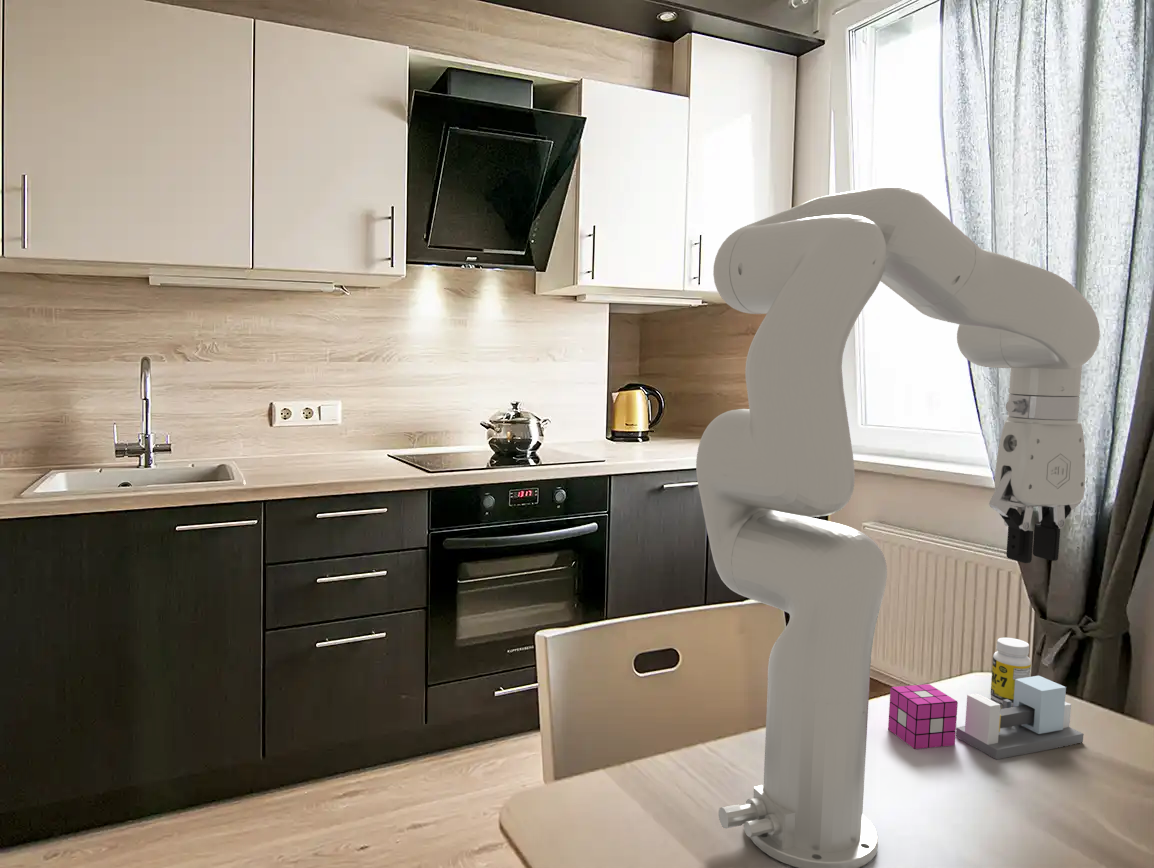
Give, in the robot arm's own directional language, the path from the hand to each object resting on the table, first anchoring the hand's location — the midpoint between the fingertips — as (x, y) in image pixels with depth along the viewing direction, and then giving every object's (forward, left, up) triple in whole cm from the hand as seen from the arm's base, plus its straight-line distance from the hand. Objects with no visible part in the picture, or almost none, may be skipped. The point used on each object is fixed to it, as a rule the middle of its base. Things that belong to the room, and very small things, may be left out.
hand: (1032, 557), depth 106 cm
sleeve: (+3, 0, -22) cm, 22 cm away
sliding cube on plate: (0, 0, -23) cm, 23 cm away
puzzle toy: (-11, +5, -24) cm, 27 cm away
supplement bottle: (+9, +10, -23) cm, 27 cm away
